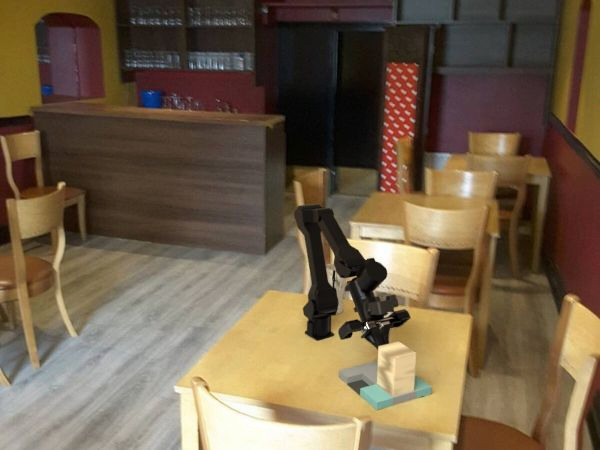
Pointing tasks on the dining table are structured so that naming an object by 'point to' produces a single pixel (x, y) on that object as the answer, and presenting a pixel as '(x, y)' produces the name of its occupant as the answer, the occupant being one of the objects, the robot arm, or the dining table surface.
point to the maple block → (396, 368)
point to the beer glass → (336, 284)
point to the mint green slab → (383, 400)
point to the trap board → (369, 380)
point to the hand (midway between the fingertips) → (387, 355)
